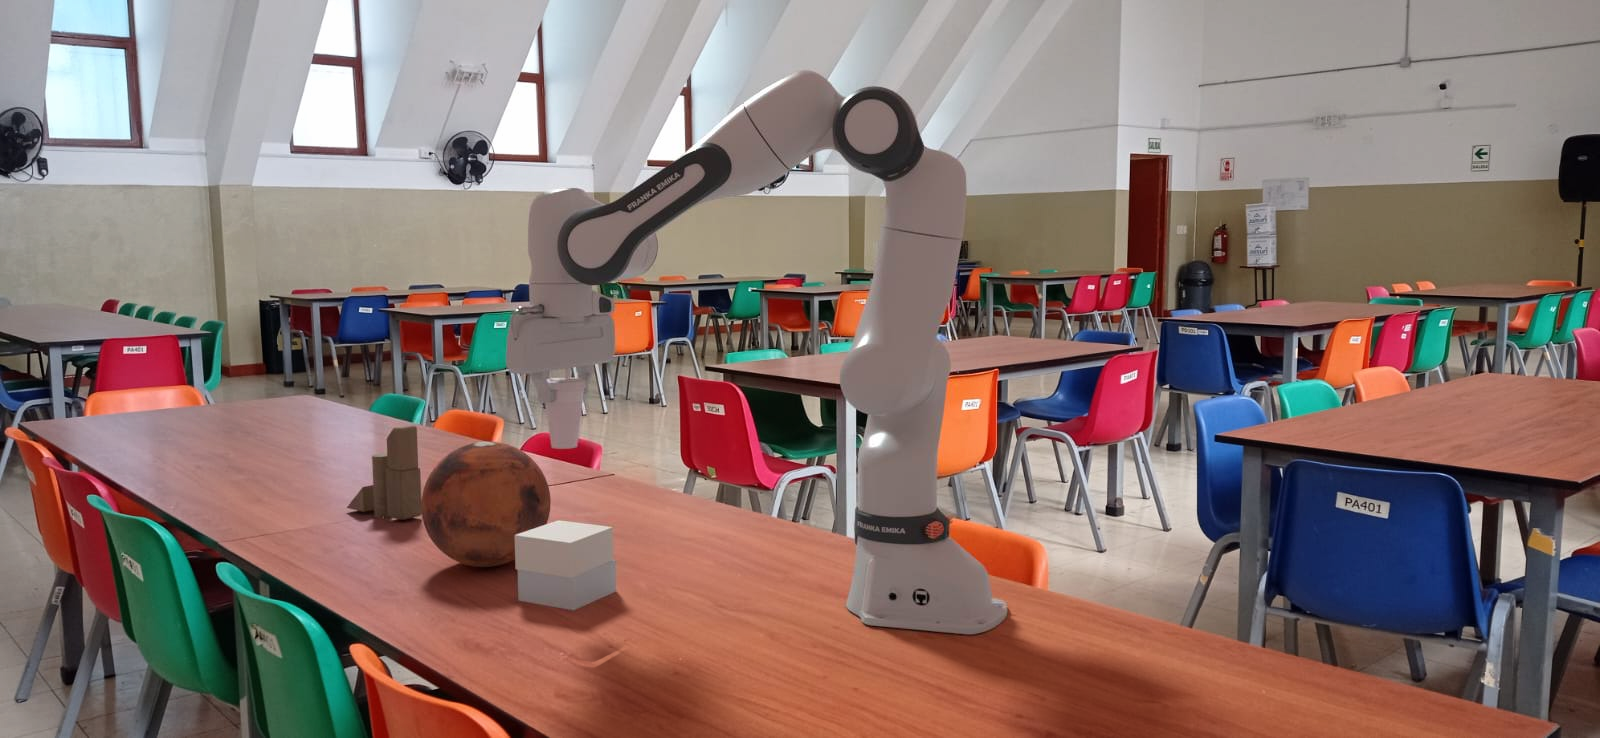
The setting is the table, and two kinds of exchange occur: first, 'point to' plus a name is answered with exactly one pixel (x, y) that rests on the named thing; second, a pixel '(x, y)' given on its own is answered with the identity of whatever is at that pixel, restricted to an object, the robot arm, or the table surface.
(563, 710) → the table surface
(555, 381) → the smoothie
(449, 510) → the planet model
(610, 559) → the tower top block
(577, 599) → the tower base block
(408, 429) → the wooden block set
